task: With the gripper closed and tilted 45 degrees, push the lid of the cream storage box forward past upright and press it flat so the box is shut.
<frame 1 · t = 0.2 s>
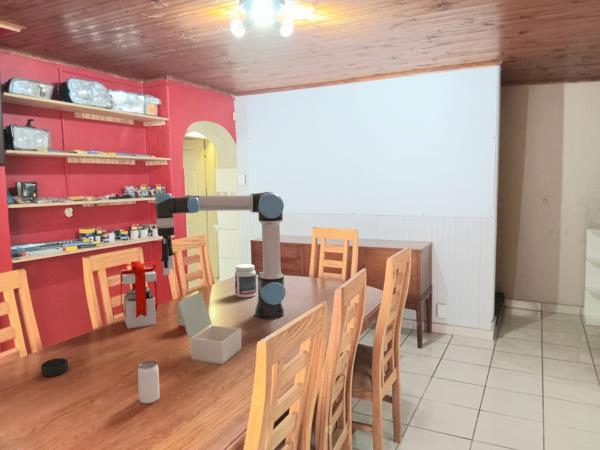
hand: (168, 272, 210), 28 cm above the table, tool pointing down, fingers open, 13 cm apart
can: (149, 399, 148), on the table
storage box: (217, 354, 184), on the table
ink box: (189, 328, 216), on the table
supplement tub: (245, 295, 273), on the table
lid: (195, 313, 185), point 16 cm above the table, hinge at 108.0°
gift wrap: (140, 322, 224), on the table
smart speaker: (55, 372, 168), on the table
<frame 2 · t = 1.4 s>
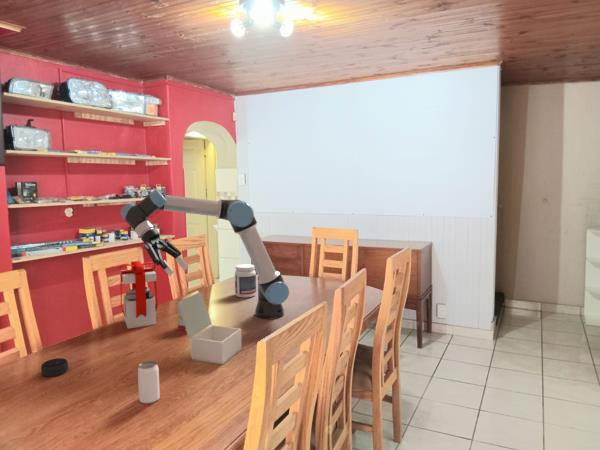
hand: (179, 271, 194), 32 cm above the table, tool tilted 45°, fingers open, 10 cm apart
nothing on the table moved.
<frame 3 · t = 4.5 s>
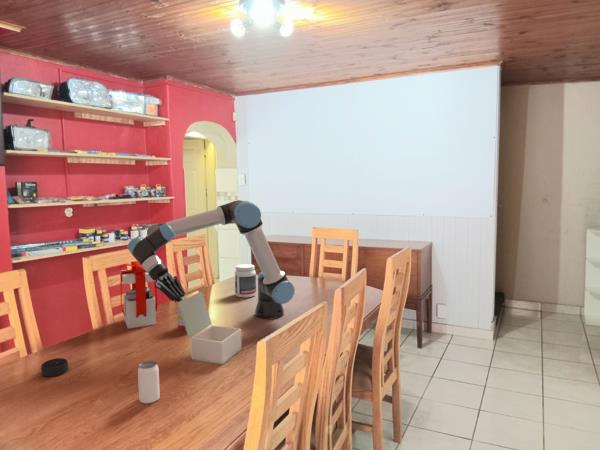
hand: (190, 310, 186), 17 cm above the table, tool tilted 45°, fingers closed
lid: (195, 313, 185), point 16 cm above the table, hinge at 107.1°, touching gripper
everything else where it was.
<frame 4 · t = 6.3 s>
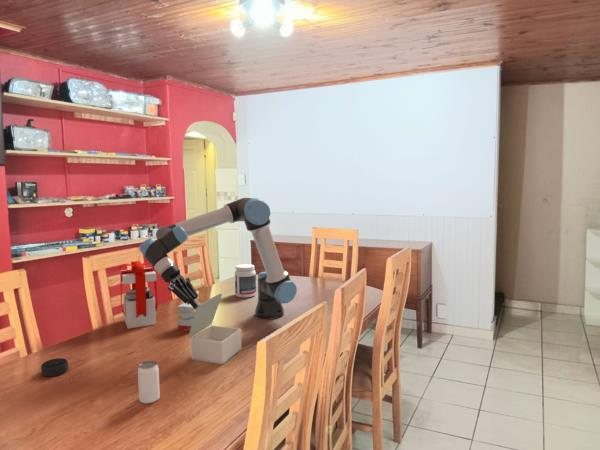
hand: (203, 312, 184), 17 cm above the table, tool tilted 45°, fingers closed
lid: (205, 314, 184), point 16 cm above the table, hinge at 68.5°, touching gripper
everything else where it was.
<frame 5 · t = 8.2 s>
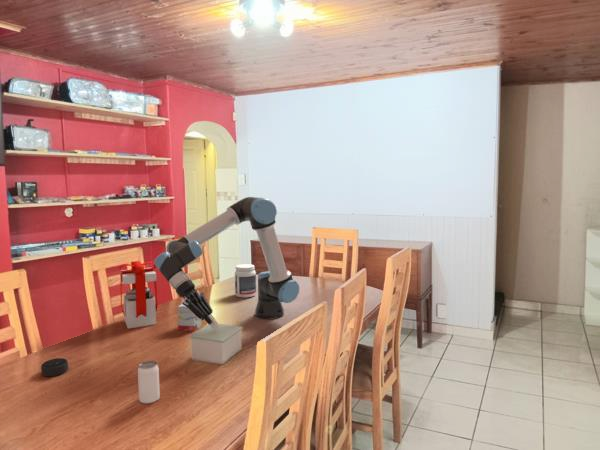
hand: (217, 328, 182), 11 cm above the table, tool tilted 45°, fingers closed
lid: (216, 332, 183), point 10 cm above the table, hinge at -1.3°, touching gripper, storage box
everything else where it was.
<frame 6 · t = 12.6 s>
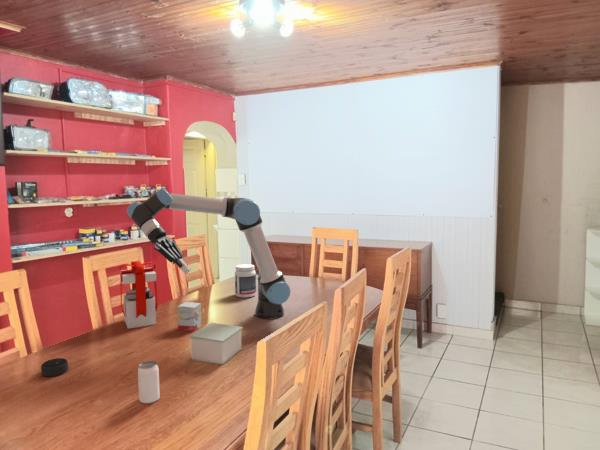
hand: (188, 271, 192), 32 cm above the table, tool tilted 45°, fingers closed
lid: (216, 332, 183), point 10 cm above the table, hinge at -1.2°, touching storage box
everything else where it was.
at the end: lid at -1° (first picture: +108°); lid point 9.3 cm above the table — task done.
